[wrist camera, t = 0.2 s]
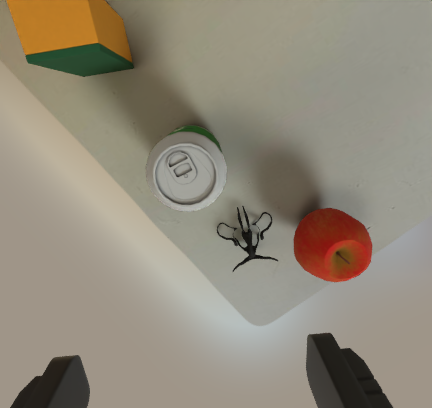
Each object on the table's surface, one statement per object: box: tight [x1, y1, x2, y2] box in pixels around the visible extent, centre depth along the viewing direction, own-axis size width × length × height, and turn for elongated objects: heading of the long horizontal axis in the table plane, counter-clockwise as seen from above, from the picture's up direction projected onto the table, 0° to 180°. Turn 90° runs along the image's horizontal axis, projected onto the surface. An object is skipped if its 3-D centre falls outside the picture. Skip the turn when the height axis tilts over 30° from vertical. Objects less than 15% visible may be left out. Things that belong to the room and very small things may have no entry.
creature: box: [217, 206, 278, 271], centre depth 38 cm, size 8×5×8 cm
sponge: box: [7, 0, 134, 77], centre depth 27 cm, size 5×6×11 cm
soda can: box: [146, 125, 227, 211], centre depth 31 cm, size 8×8×12 cm
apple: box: [294, 208, 372, 282], centre depth 35 cm, size 9×8×11 cm
